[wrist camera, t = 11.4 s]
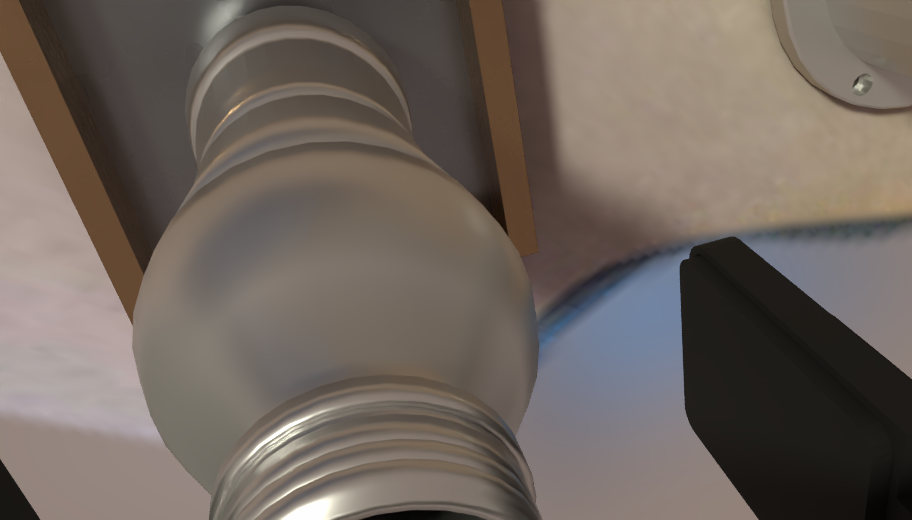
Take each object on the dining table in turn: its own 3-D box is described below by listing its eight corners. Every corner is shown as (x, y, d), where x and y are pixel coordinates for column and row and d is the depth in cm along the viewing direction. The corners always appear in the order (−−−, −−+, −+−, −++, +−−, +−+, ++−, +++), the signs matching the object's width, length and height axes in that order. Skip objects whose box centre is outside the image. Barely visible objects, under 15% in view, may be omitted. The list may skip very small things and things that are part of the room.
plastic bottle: (299, -56, 23) (438, 201, 6) (436, 109, 26) (786, 589, 9) (145, 84, 24) (-150, 688, 6) (296, 227, 27) (372, 876, 10)
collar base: (449, -186, 23) (481, -194, 20) (513, 218, 30) (545, 262, 27) (-25, -87, 21) (-75, -77, 18) (159, 316, 28) (147, 375, 25)
